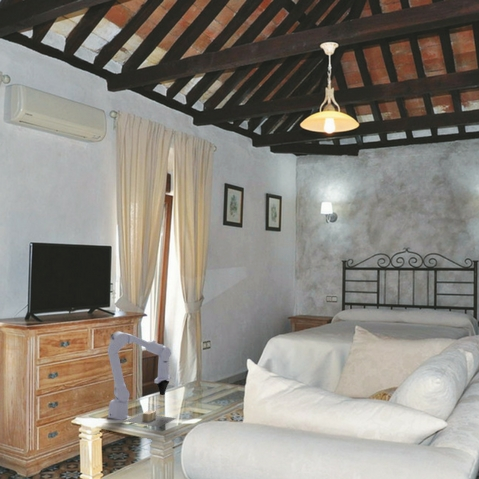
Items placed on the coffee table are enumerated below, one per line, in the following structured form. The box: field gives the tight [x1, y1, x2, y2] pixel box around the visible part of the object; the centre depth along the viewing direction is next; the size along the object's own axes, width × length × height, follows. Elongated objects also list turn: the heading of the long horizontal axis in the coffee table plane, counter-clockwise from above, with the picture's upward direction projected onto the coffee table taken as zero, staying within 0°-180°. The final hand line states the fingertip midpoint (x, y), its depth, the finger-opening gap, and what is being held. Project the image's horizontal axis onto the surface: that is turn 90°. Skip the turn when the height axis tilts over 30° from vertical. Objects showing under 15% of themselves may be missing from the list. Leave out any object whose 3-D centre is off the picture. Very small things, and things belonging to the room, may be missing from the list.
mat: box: [124, 412, 177, 428], centre depth 290 cm, size 20×18×1 cm
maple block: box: [142, 409, 157, 422], centre depth 291 cm, size 4×4×7 cm
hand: (162, 394), depth 303 cm, fingers closed
